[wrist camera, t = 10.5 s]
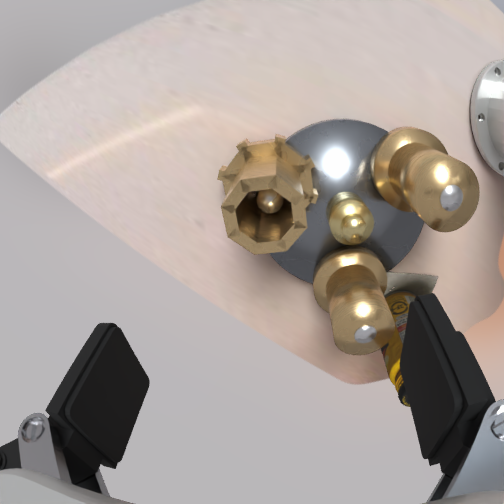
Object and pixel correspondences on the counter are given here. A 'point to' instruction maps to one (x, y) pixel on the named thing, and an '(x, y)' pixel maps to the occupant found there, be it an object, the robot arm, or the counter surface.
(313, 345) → the counter surface
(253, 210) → the gold hollow octagonal piece
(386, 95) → the counter surface
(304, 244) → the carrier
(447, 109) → the counter surface
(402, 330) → the condiment
